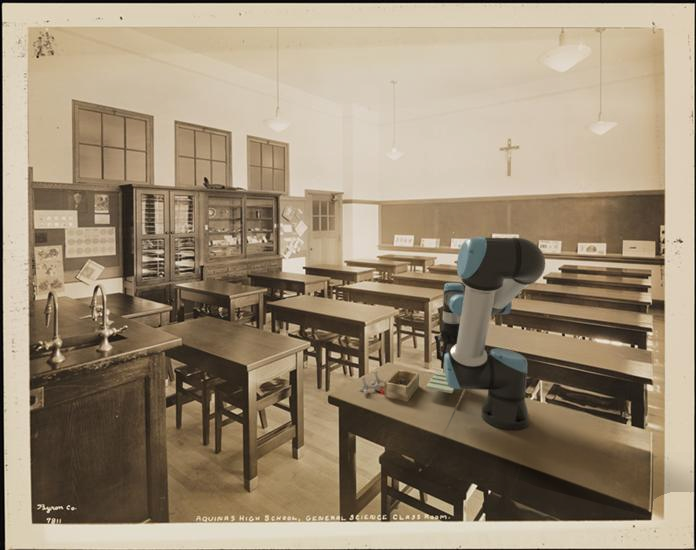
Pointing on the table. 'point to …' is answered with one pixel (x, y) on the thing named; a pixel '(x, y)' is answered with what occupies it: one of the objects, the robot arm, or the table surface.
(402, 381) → the rubber stopper
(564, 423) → the table surface
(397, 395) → the tub
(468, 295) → the robot arm
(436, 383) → the ridged block with tab
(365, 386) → the molecular model
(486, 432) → the table surface
